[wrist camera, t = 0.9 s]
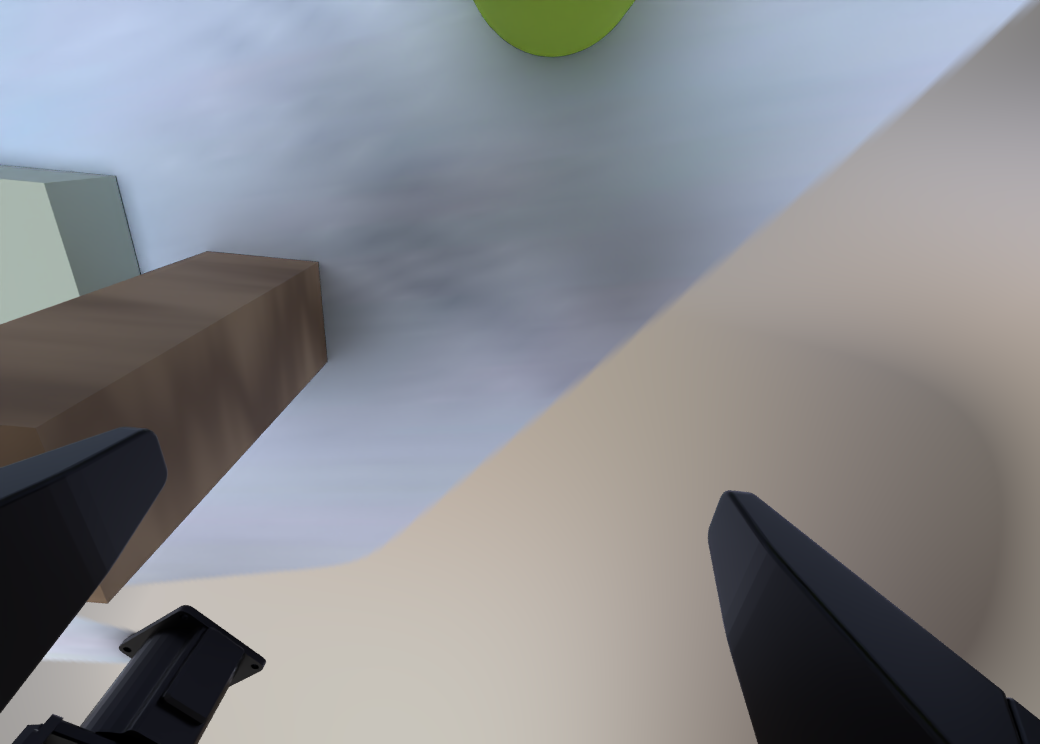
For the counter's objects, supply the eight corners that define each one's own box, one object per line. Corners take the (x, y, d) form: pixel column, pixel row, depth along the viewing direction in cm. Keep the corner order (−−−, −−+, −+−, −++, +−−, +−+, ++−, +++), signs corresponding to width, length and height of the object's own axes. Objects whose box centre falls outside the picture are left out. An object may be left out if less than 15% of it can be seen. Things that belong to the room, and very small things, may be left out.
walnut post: (327, 361, 22) (107, 603, 10) (226, 352, 22) (-105, 586, 10) (318, 262, 20) (35, 427, 9) (206, 251, 20) (-227, 404, 8)
